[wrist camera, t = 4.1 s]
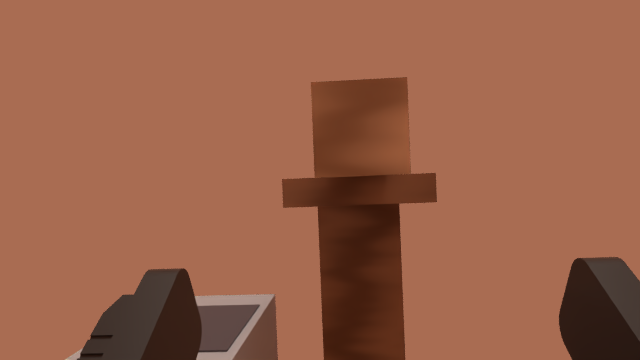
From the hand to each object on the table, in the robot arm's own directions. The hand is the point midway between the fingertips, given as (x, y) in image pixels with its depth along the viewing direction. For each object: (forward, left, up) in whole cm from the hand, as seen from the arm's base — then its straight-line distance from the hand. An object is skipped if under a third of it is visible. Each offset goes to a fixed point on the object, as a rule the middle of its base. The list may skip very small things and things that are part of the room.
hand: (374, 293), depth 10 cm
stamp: (0, -18, +3) cm, 18 cm away
